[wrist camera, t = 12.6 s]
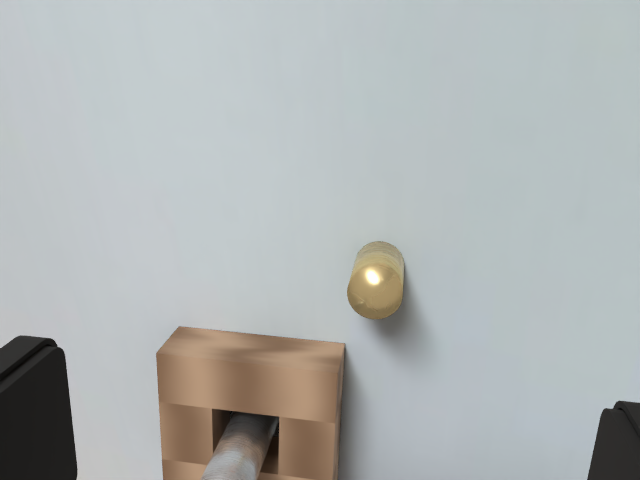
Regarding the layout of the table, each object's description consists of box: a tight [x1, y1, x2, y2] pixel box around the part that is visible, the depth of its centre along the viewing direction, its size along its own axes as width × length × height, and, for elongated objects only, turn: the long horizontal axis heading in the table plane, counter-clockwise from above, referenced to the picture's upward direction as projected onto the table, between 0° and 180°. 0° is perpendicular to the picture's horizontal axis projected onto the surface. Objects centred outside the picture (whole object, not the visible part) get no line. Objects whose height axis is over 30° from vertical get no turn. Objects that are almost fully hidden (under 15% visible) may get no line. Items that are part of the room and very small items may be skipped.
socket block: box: [156, 327, 345, 480], centre depth 42 cm, size 12×12×4 cm
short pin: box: [347, 241, 404, 319], centre depth 37 cm, size 3×3×5 cm
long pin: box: [200, 411, 279, 480], centre depth 38 cm, size 3×3×12 cm
